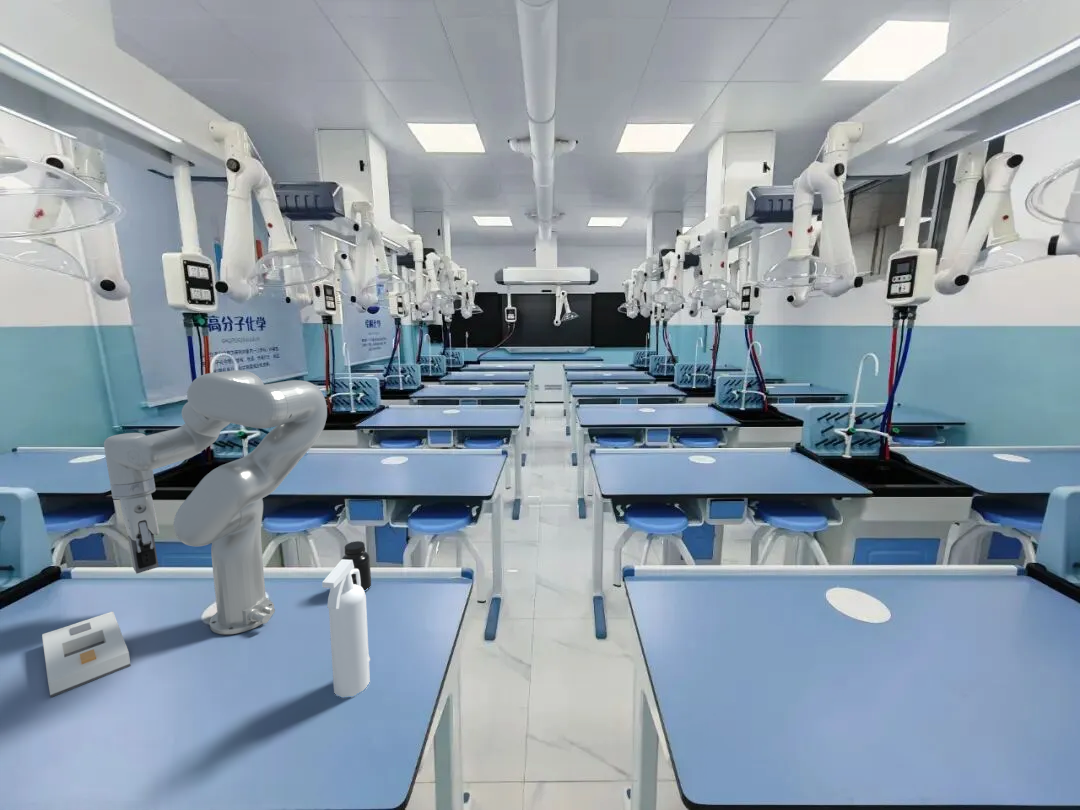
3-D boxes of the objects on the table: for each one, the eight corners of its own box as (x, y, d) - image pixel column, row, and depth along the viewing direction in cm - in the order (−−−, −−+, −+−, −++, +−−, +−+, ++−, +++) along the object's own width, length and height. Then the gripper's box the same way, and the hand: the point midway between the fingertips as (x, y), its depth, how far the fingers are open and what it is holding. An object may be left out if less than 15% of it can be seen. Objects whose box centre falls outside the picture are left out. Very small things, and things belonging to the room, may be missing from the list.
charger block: (158, 567, 110) (153, 534, 109) (136, 573, 107) (131, 540, 106) (155, 561, 112) (150, 530, 111) (133, 568, 109) (128, 535, 108)
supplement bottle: (347, 581, 124) (345, 539, 122) (374, 581, 125) (372, 538, 123) (339, 596, 118) (336, 551, 116) (367, 595, 118) (364, 550, 116)
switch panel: (130, 665, 93) (128, 649, 92) (50, 697, 84) (47, 679, 84) (114, 623, 106) (112, 608, 105) (44, 647, 98) (41, 631, 97)
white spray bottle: (386, 659, 95) (376, 545, 90) (356, 709, 83) (343, 580, 78) (355, 657, 96) (343, 544, 91) (321, 705, 84) (306, 578, 79)
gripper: (162, 491, 104) (173, 568, 107) (147, 476, 115) (158, 547, 118) (117, 500, 98) (130, 581, 101) (106, 484, 109) (118, 558, 112)
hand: (145, 562), depth 109 cm, fingers closed on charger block, 4 cm apart
